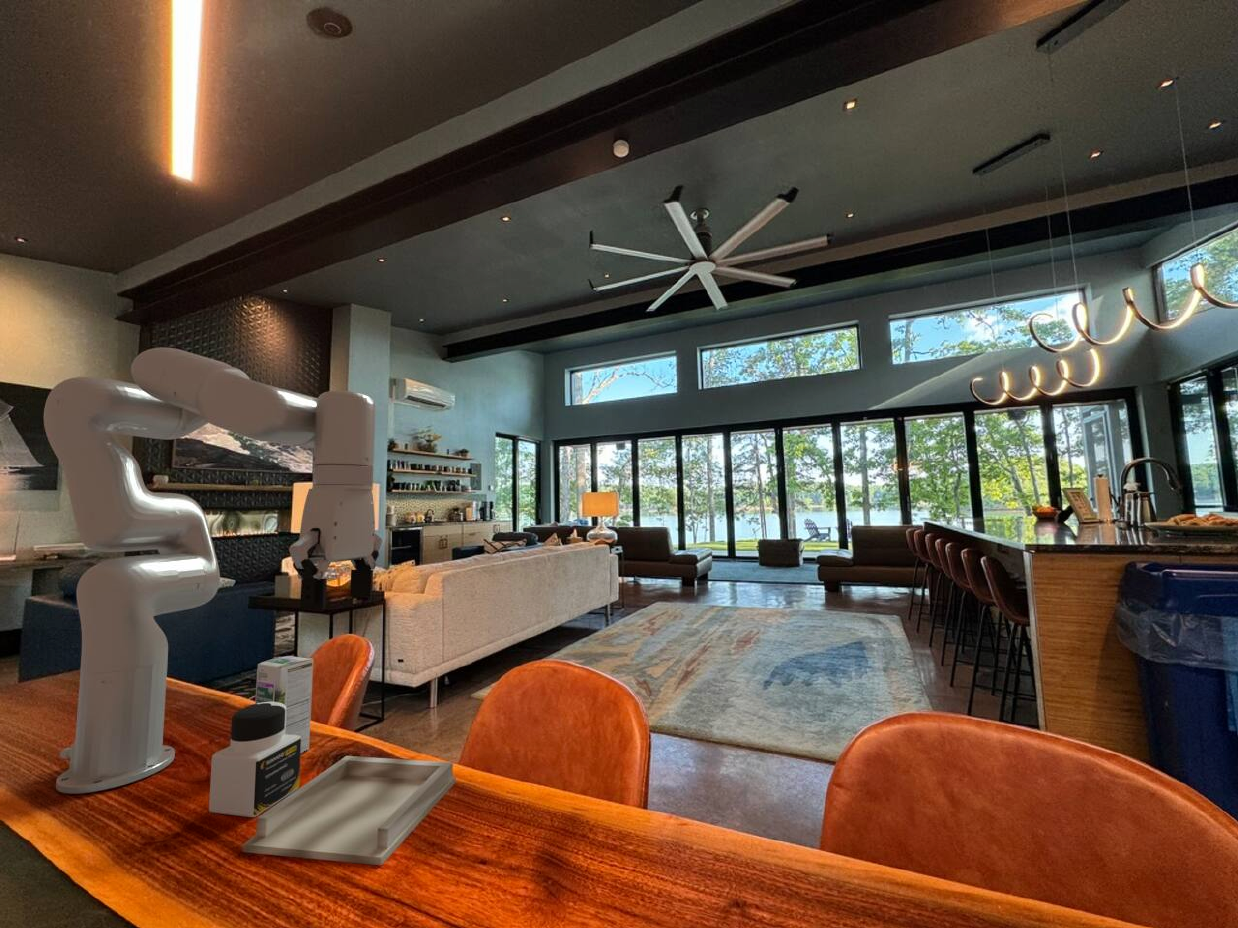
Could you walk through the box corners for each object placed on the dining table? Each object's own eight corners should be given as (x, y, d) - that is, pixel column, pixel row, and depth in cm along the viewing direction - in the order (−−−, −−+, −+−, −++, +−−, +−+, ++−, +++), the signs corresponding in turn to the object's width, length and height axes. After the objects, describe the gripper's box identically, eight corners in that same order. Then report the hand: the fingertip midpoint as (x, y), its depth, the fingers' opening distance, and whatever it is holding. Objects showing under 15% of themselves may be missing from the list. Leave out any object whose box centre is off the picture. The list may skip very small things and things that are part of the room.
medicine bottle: (254, 818, 64) (258, 718, 65) (207, 813, 65) (212, 715, 67) (300, 788, 71) (303, 698, 72) (257, 783, 72) (261, 695, 73)
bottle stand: (242, 851, 58) (243, 825, 58) (345, 774, 74) (345, 754, 75) (381, 865, 55) (382, 837, 55) (455, 782, 72) (455, 761, 72)
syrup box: (249, 760, 79) (254, 663, 81) (287, 744, 85) (290, 653, 86) (274, 766, 77) (279, 667, 79) (311, 749, 83) (314, 656, 84)
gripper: (358, 483, 82) (354, 592, 80) (270, 476, 65) (262, 615, 63) (402, 482, 81) (399, 593, 79) (324, 475, 64) (317, 616, 62)
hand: (338, 603), depth 71 cm, fingers open, 9 cm apart
